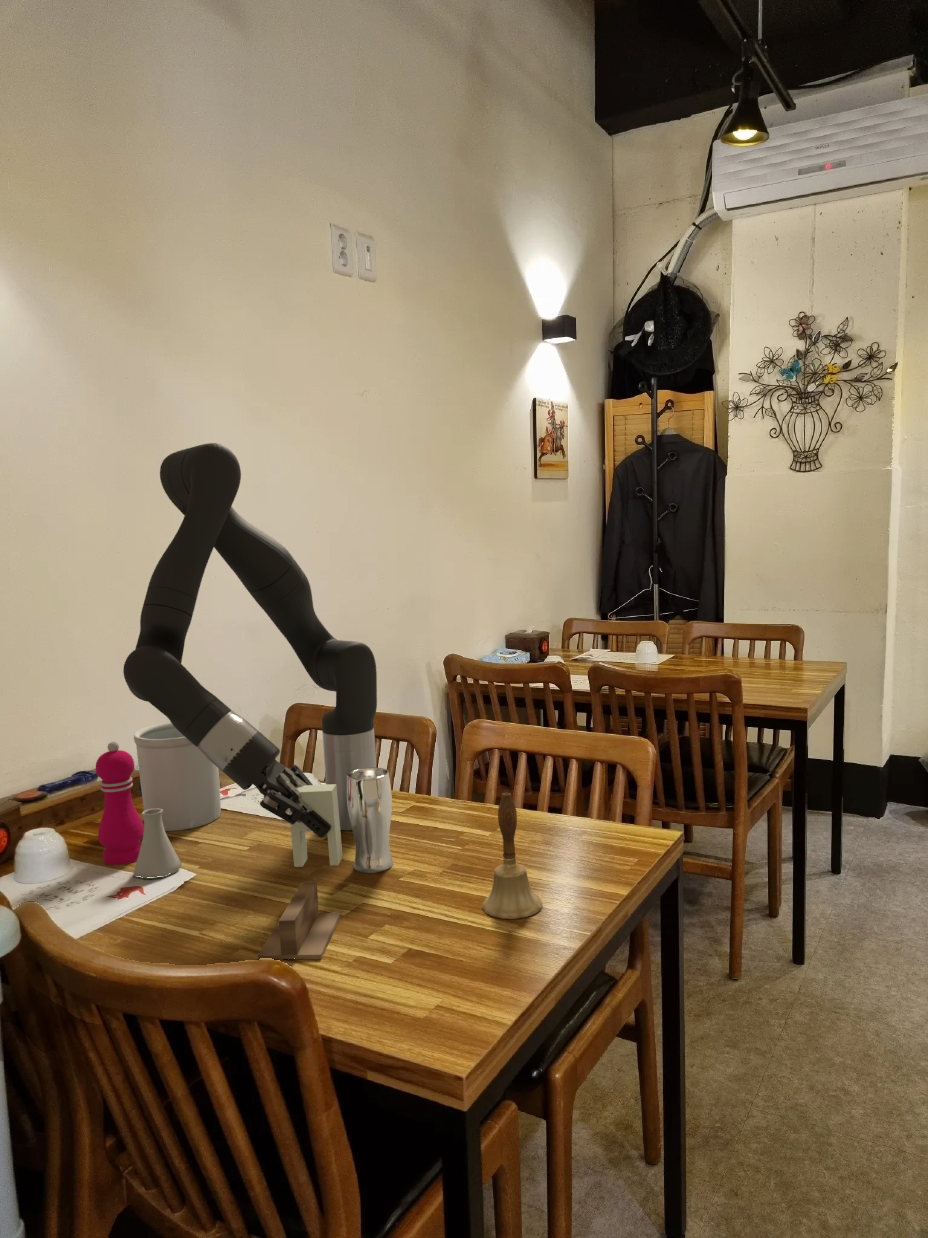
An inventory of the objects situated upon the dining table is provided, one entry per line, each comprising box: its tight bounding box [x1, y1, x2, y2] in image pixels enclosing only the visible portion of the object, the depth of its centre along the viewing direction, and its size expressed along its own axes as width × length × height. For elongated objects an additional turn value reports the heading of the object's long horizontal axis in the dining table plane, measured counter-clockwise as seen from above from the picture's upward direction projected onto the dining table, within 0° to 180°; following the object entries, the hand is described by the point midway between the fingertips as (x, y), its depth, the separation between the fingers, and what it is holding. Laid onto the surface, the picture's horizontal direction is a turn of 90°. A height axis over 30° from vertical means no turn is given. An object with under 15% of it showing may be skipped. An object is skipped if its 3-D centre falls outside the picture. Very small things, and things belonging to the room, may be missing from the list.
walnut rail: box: [257, 881, 342, 961], centre depth 117 cm, size 12×8×5 cm, turn 176°
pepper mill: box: [95, 741, 144, 866], centre depth 149 cm, size 7×7×20 cm
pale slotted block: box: [288, 784, 343, 868], centre depth 128 cm, size 6×3×11 cm, turn 86°
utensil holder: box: [133, 721, 222, 832], centre depth 168 cm, size 15×15×18 cm
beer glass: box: [347, 767, 394, 874], centre depth 140 cm, size 7×7×15 cm
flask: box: [132, 808, 182, 879], centre depth 143 cm, size 7×7×10 cm
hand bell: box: [481, 792, 543, 920], centre depth 123 cm, size 8×8×16 cm
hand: (329, 827), depth 128 cm, fingers closed on pale slotted block, 3 cm apart
